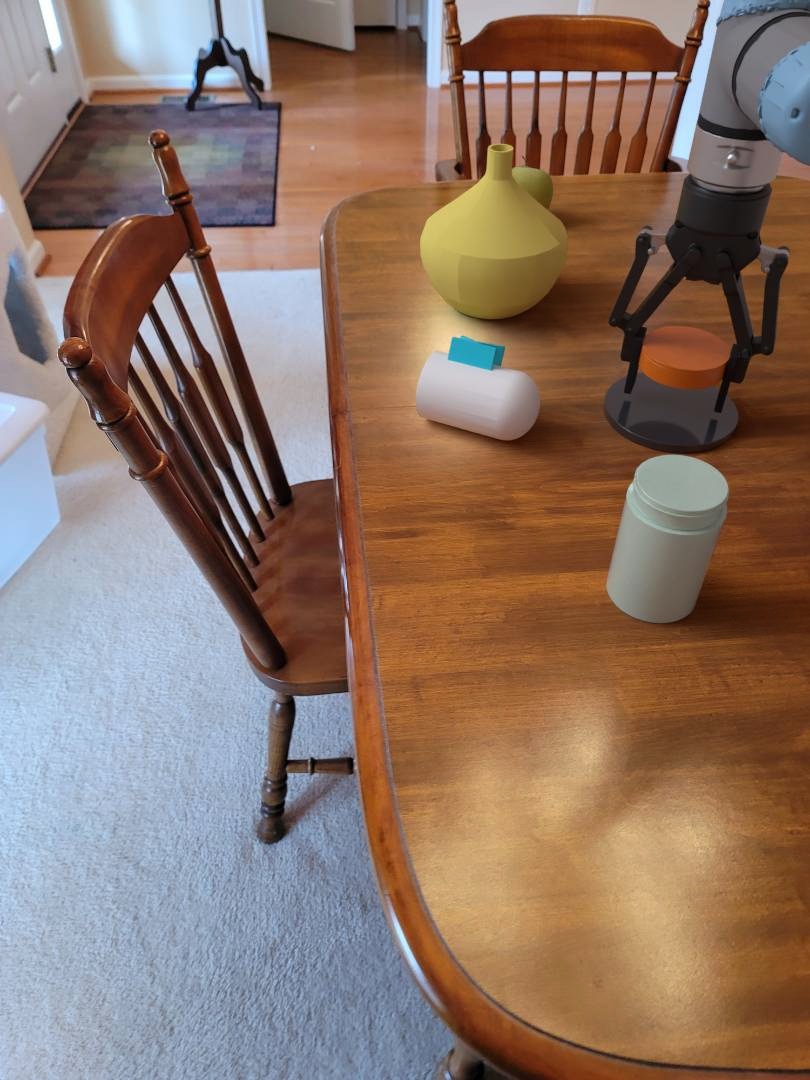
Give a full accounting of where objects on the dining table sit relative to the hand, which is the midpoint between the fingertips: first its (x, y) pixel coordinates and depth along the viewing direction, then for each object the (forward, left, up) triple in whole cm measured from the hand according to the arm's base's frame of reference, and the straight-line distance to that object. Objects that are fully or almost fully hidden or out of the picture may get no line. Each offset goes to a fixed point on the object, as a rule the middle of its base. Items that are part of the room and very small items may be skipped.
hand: (673, 396), depth 89 cm
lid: (0, 0, +6) cm, 6 cm away
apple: (+29, -43, -2) cm, 52 cm away
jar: (-3, +27, -2) cm, 27 cm away
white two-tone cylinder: (+18, +8, -2) cm, 20 cm away
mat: (0, 0, -2) cm, 2 cm away
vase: (+26, -17, -2) cm, 31 cm away
